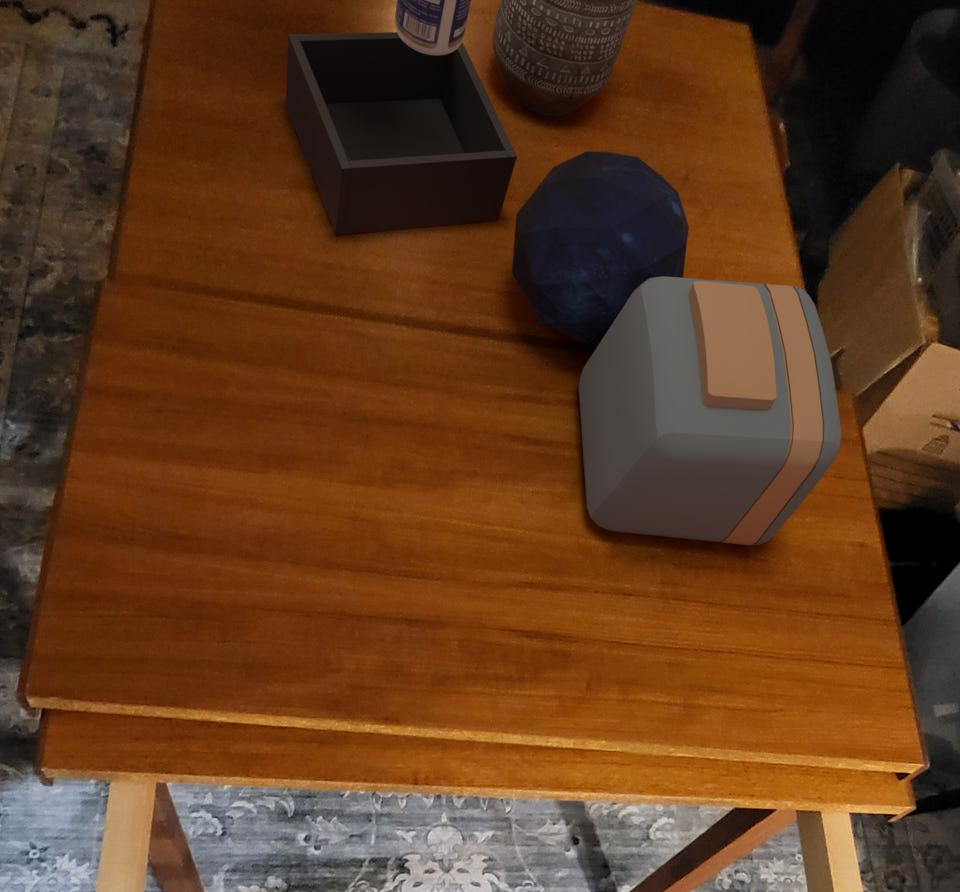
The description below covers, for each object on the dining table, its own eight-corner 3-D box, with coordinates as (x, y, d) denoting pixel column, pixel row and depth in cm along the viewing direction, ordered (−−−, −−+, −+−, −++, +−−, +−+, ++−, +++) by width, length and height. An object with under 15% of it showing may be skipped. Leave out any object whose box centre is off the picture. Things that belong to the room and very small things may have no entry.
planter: (459, 71, 94) (488, -68, 83) (536, 30, 99) (573, -107, 88) (549, 147, 93) (591, 16, 81) (622, 101, 98) (672, -29, 86)
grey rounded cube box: (769, 557, 79) (883, 442, 65) (582, 538, 76) (659, 413, 61) (744, 398, 85) (843, 262, 71) (571, 374, 82) (638, 226, 68)
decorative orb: (731, 313, 82) (720, 119, 72) (614, 387, 76) (585, 185, 66) (609, 297, 91) (586, 124, 82) (496, 361, 85) (457, 182, 76)
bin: (335, 235, 82) (342, 168, 76) (285, 107, 87) (288, 34, 81) (498, 220, 87) (517, 156, 81) (443, 99, 92) (457, 30, 86)
